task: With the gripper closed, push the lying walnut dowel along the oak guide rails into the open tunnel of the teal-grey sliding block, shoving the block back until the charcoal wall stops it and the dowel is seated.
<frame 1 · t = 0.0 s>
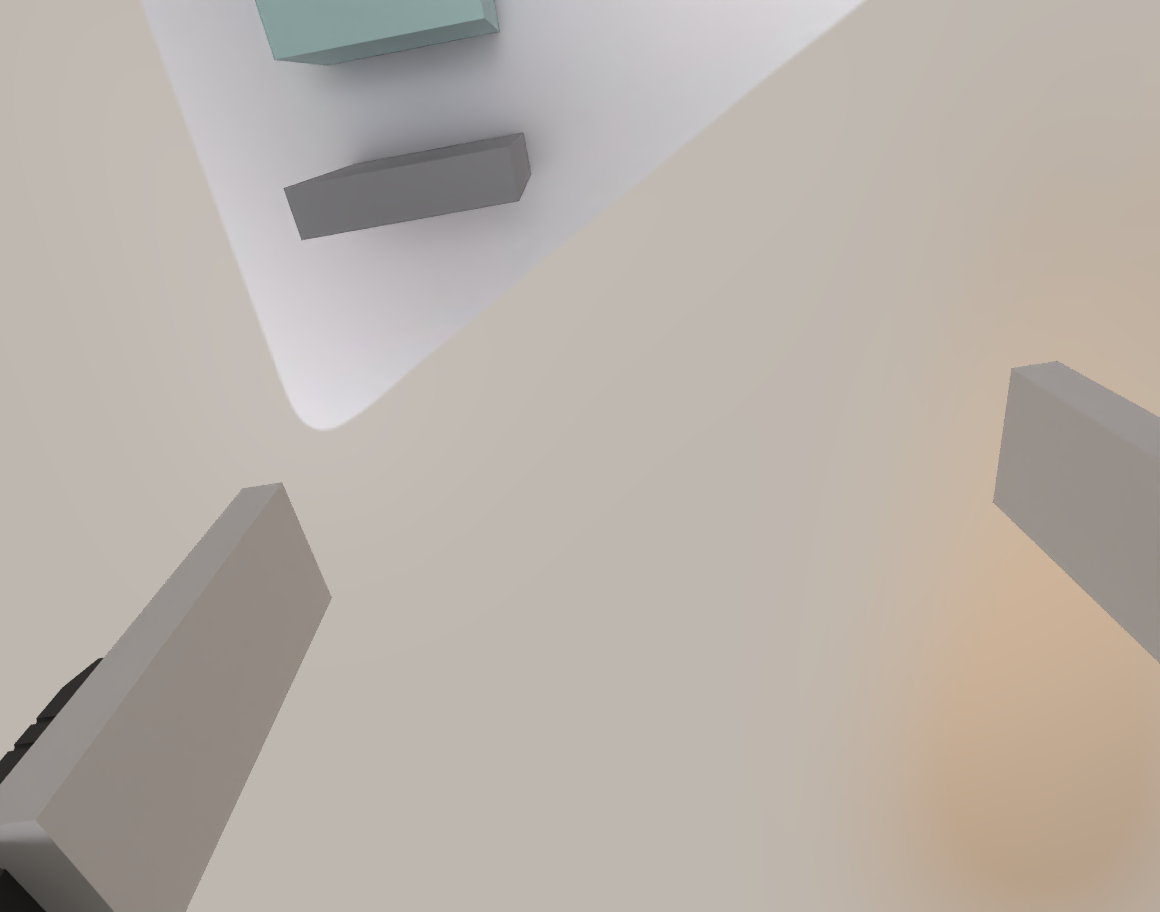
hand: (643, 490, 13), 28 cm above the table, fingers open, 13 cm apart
wall: (442, 169, 36), on the table
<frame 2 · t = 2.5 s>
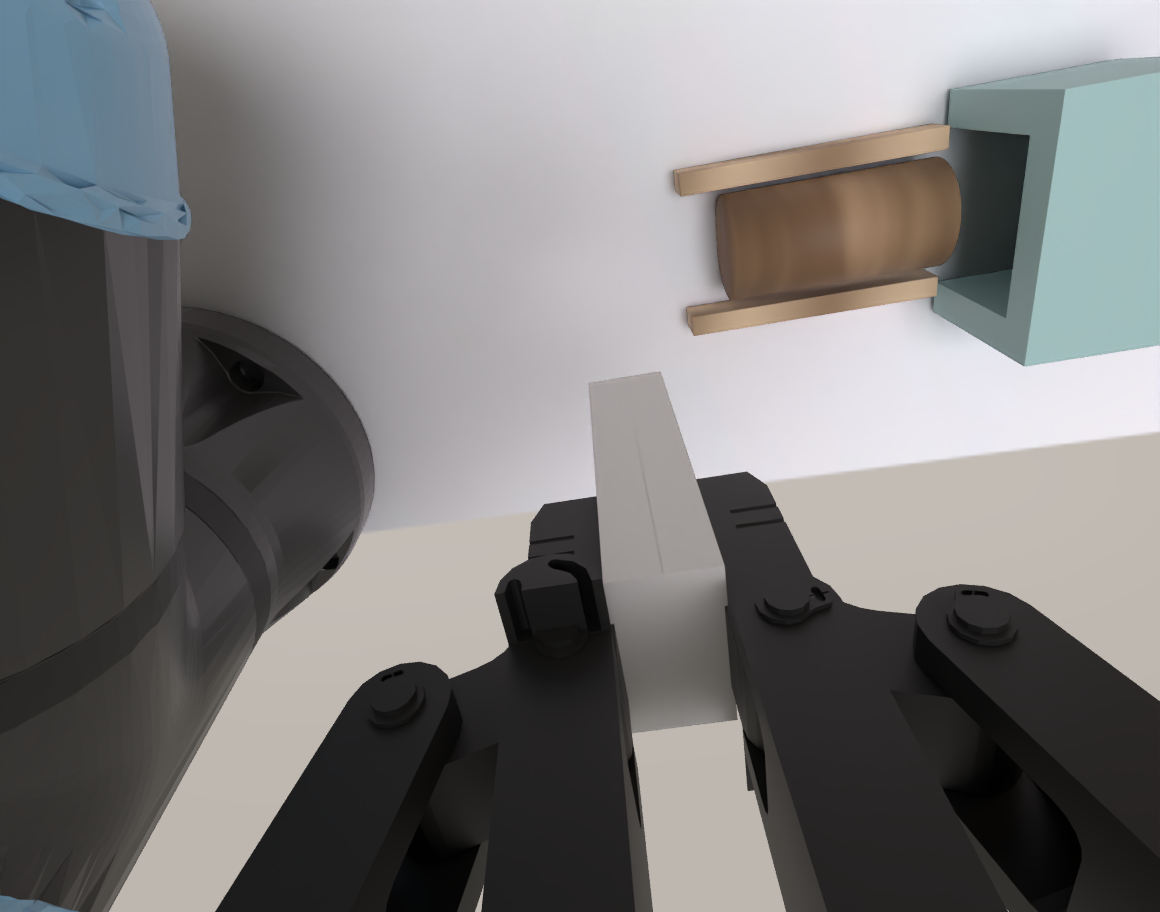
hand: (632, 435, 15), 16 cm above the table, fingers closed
block: (1071, 208, 25), point 4 cm above the table, slide at 0.0 cm
dowel: (812, 228, 28), on the table, tilted 8°
rails: (801, 230, 28), on the table
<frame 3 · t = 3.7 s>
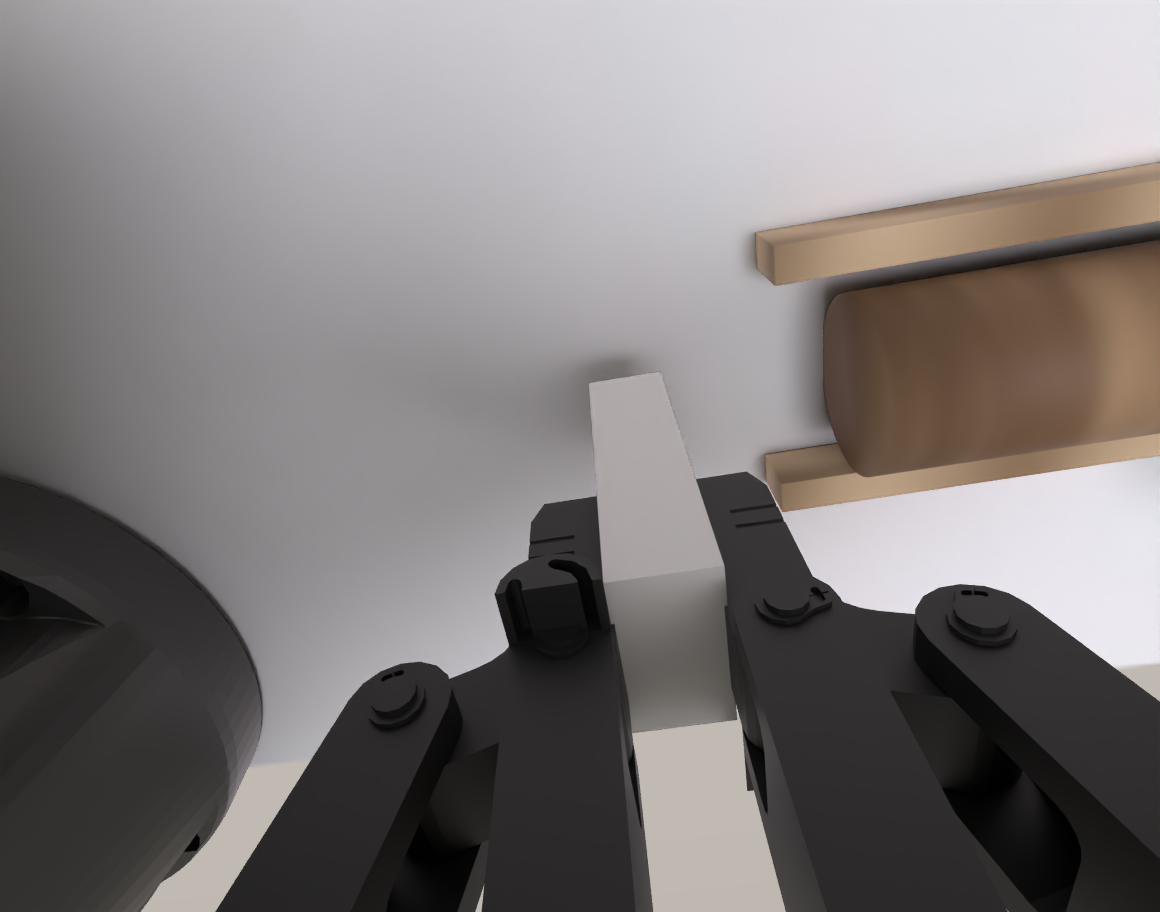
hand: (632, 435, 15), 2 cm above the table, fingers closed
dowel: (990, 327, 16), on the table
rails: (972, 333, 16), on the table
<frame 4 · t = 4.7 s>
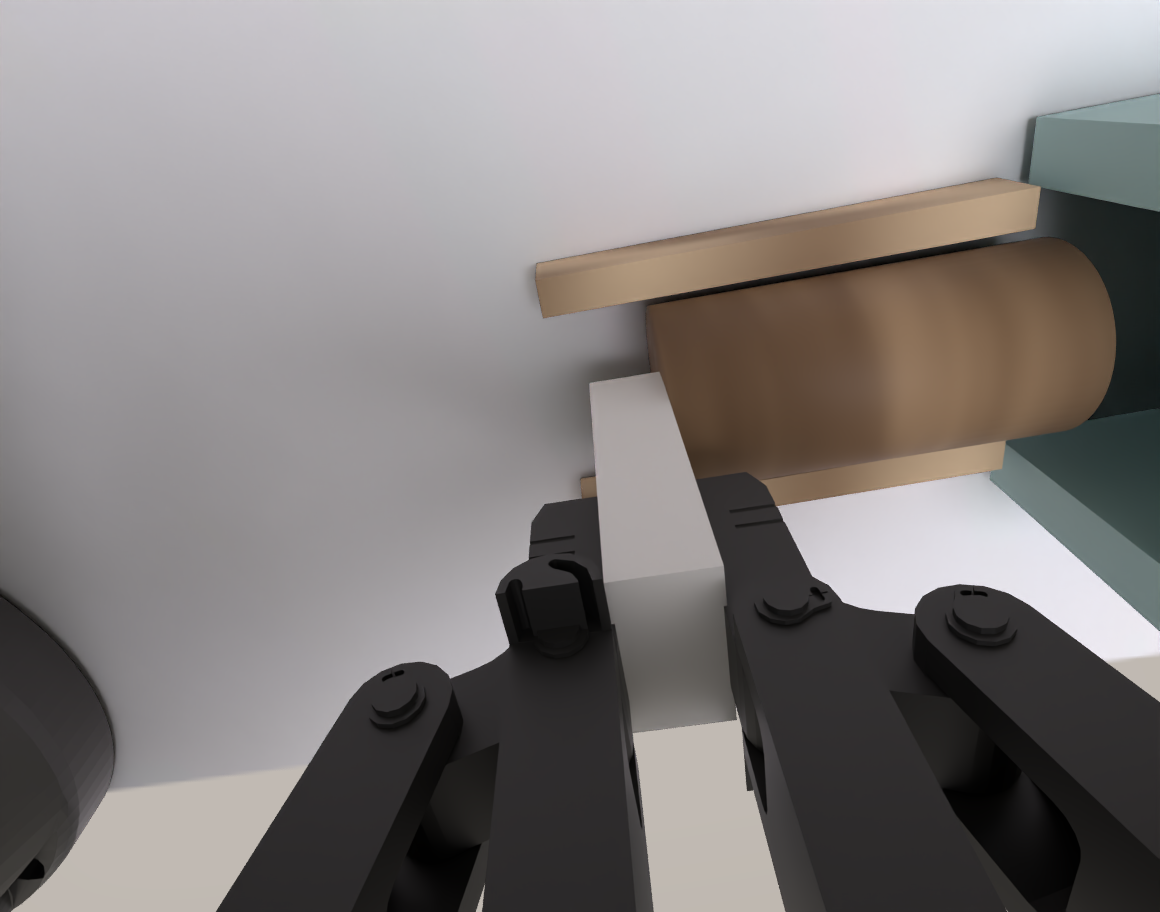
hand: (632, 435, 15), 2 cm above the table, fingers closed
dowel: (818, 351, 16), on the table, tilted 9°, touching gripper
rails: (769, 358, 16), on the table
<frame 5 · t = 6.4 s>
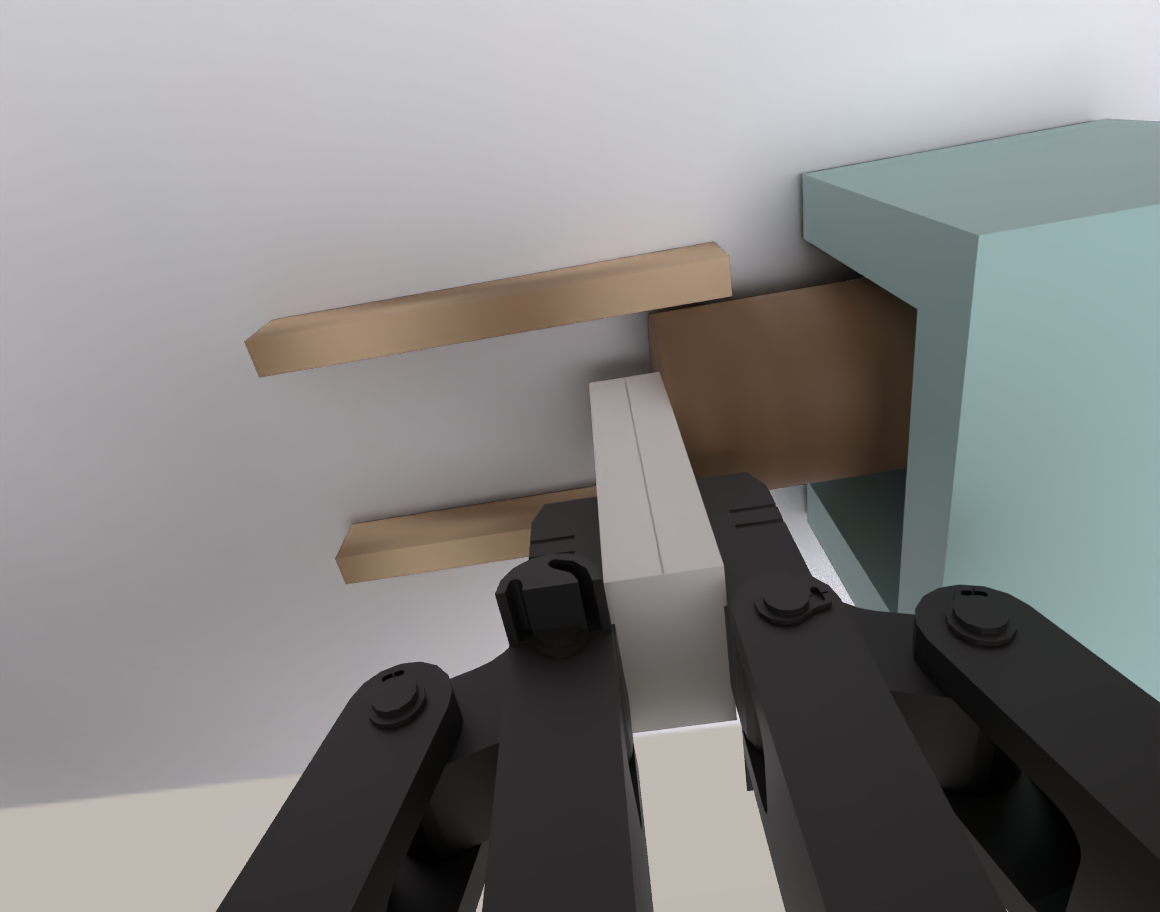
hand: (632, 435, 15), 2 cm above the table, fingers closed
block: (1022, 407, 13), point 4 cm above the table, slide at 1.3 cm, touching dowel
dowel: (822, 360, 16), on the table, tilted 9°, touching block, gripper
rails: (519, 411, 17), on the table
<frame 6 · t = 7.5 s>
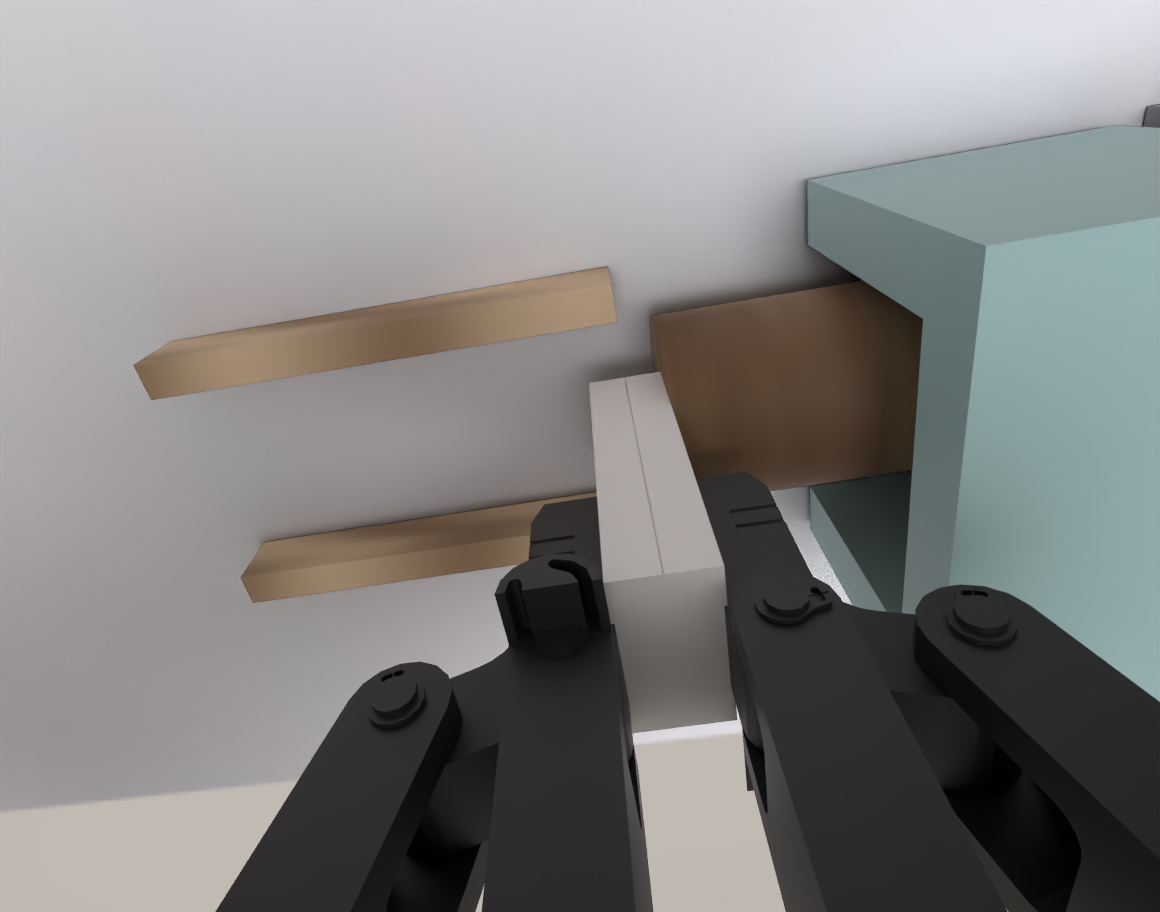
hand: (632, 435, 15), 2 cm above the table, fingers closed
wall: (1149, 317, 16), on the table
block: (1028, 417, 13), point 4 cm above the table, slide at 3.7 cm
dowel: (824, 361, 16), on the table, tilted 9°, touching gripper
rails: (423, 432, 17), on the table
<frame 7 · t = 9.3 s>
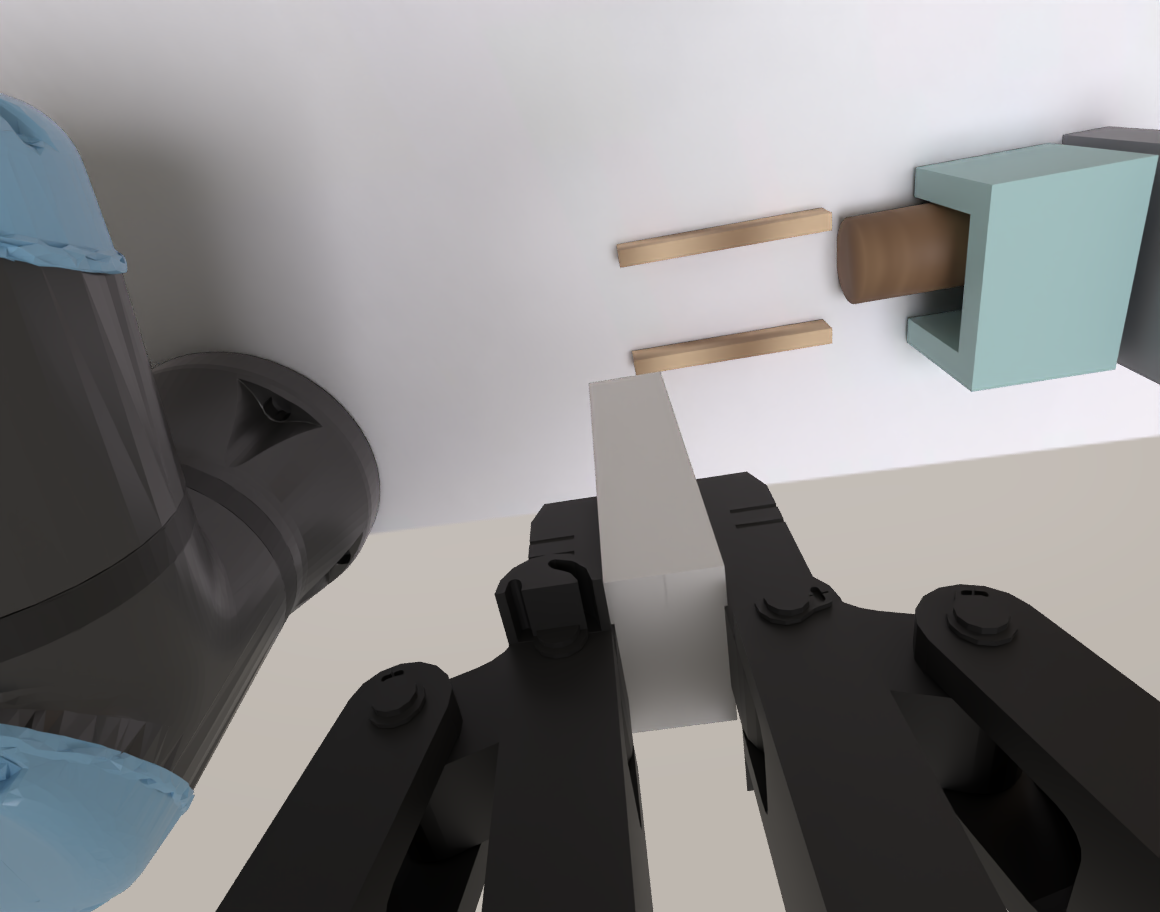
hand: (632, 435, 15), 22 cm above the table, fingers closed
wall: (1070, 230, 34), on the table
block: (1011, 264, 31), point 4 cm above the table, slide at 3.7 cm
dowel: (918, 254, 34), on the table, tilted 23°
rails: (722, 290, 35), on the table
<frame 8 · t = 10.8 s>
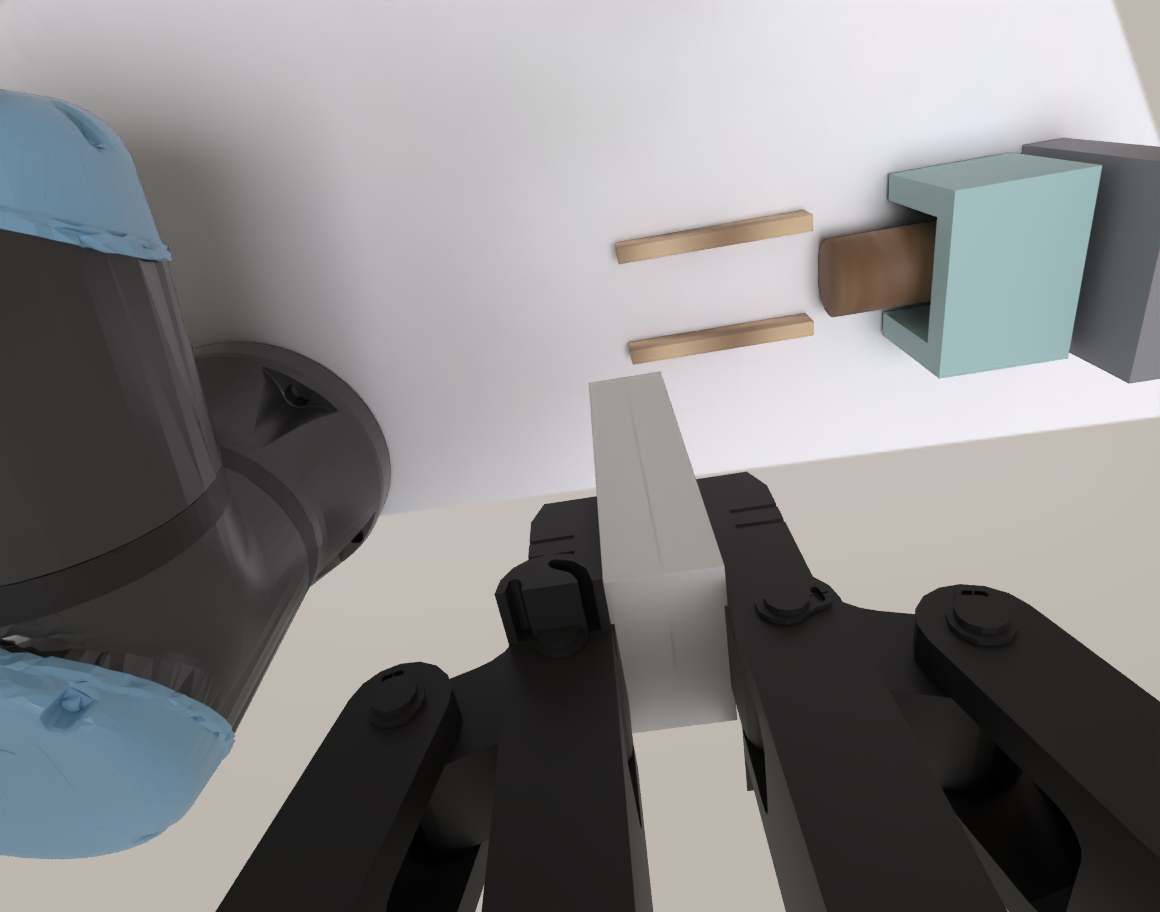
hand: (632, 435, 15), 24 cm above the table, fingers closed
wall: (1030, 232, 37), on the table
block: (975, 262, 34), point 4 cm above the table, slide at 3.7 cm
dowel: (891, 252, 37), on the table, tilted 7°
rails: (713, 286, 38), on the table
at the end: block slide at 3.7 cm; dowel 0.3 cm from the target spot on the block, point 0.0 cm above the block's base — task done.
